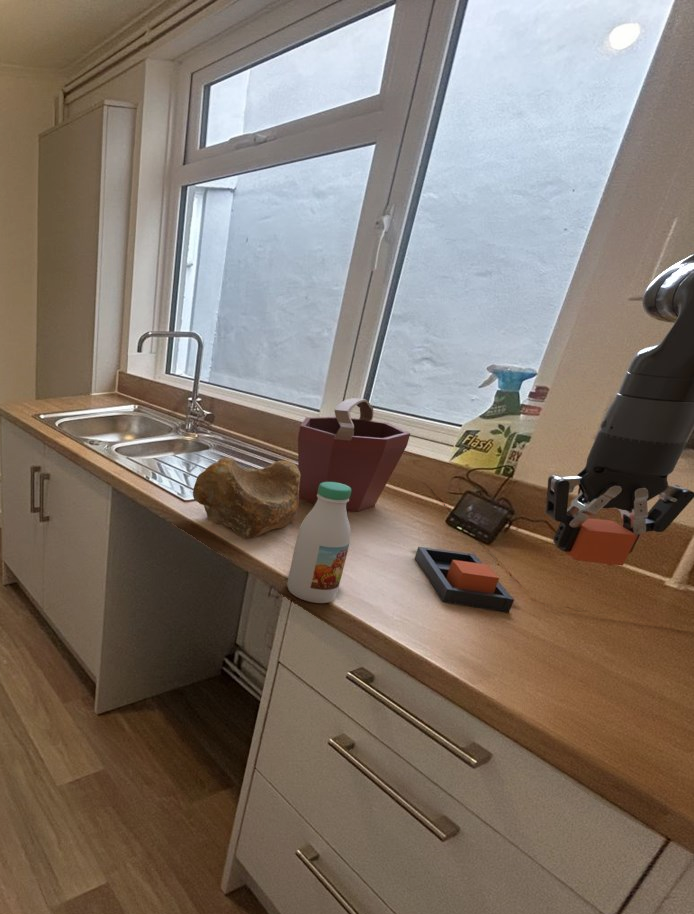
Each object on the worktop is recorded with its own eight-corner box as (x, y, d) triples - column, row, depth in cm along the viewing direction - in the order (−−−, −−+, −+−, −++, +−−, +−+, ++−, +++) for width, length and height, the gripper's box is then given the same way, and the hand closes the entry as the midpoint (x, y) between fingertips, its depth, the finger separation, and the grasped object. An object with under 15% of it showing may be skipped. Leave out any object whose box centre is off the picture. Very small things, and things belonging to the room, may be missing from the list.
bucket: (348, 523, 119) (375, 414, 109) (262, 493, 136) (280, 397, 127) (404, 502, 130) (433, 401, 121) (318, 477, 148) (338, 388, 138)
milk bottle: (287, 599, 90) (311, 490, 83) (284, 578, 97) (306, 475, 89) (339, 608, 87) (368, 496, 80) (332, 585, 94) (358, 480, 86)
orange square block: (478, 586, 92) (487, 564, 91) (490, 601, 88) (499, 578, 86) (444, 581, 94) (452, 559, 92) (454, 595, 90) (462, 572, 88)
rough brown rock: (211, 550, 109) (227, 485, 102) (182, 513, 124) (193, 453, 117) (316, 547, 111) (338, 483, 104) (275, 511, 126) (291, 453, 119)
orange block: (598, 549, 74) (612, 520, 72) (623, 565, 70) (638, 535, 68) (554, 544, 76) (566, 516, 74) (575, 560, 71) (588, 530, 70)
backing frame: (470, 565, 100) (474, 553, 99) (509, 612, 86) (514, 599, 85) (414, 557, 104) (418, 546, 103) (442, 602, 89) (447, 589, 88)
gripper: (586, 435, 65) (536, 556, 72) (747, 445, 60) (678, 573, 67) (554, 421, 72) (511, 534, 78) (697, 429, 67) (638, 548, 73)
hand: (588, 551), depth 72 cm, fingers closed on orange block, 5 cm apart
